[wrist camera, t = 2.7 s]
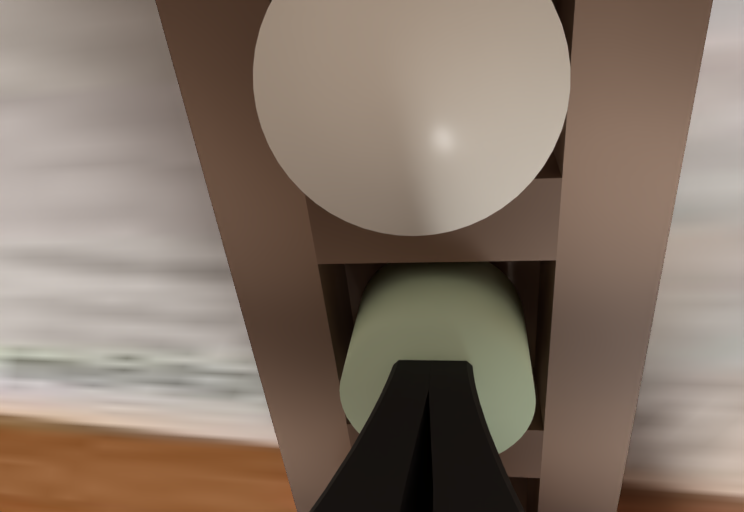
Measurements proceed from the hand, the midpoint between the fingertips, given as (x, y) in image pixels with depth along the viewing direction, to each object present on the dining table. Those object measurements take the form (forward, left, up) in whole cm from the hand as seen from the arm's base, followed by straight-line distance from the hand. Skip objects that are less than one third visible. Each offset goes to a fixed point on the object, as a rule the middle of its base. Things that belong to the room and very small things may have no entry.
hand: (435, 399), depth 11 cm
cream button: (+5, +3, -1) cm, 6 cm away
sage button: (0, 0, -2) cm, 2 cm away
